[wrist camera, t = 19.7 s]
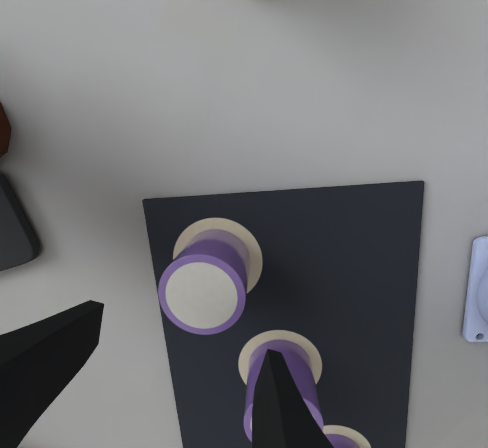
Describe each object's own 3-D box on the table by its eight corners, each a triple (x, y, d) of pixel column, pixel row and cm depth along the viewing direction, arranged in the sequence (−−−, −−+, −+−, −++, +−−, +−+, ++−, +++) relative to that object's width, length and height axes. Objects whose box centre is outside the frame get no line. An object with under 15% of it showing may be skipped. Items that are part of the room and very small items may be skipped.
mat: (421, 180, 20) (424, 181, 19) (399, 494, 26) (401, 499, 26) (144, 199, 21) (142, 200, 21) (191, 489, 28) (190, 493, 28)
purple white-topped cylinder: (310, 338, 23) (323, 393, 18) (312, 392, 24) (324, 457, 19) (246, 339, 23) (240, 393, 18) (250, 392, 24) (246, 456, 19)
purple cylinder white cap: (247, 226, 21) (241, 252, 16) (252, 291, 22) (248, 334, 17) (178, 230, 21) (151, 256, 16) (187, 293, 23) (164, 336, 17)
